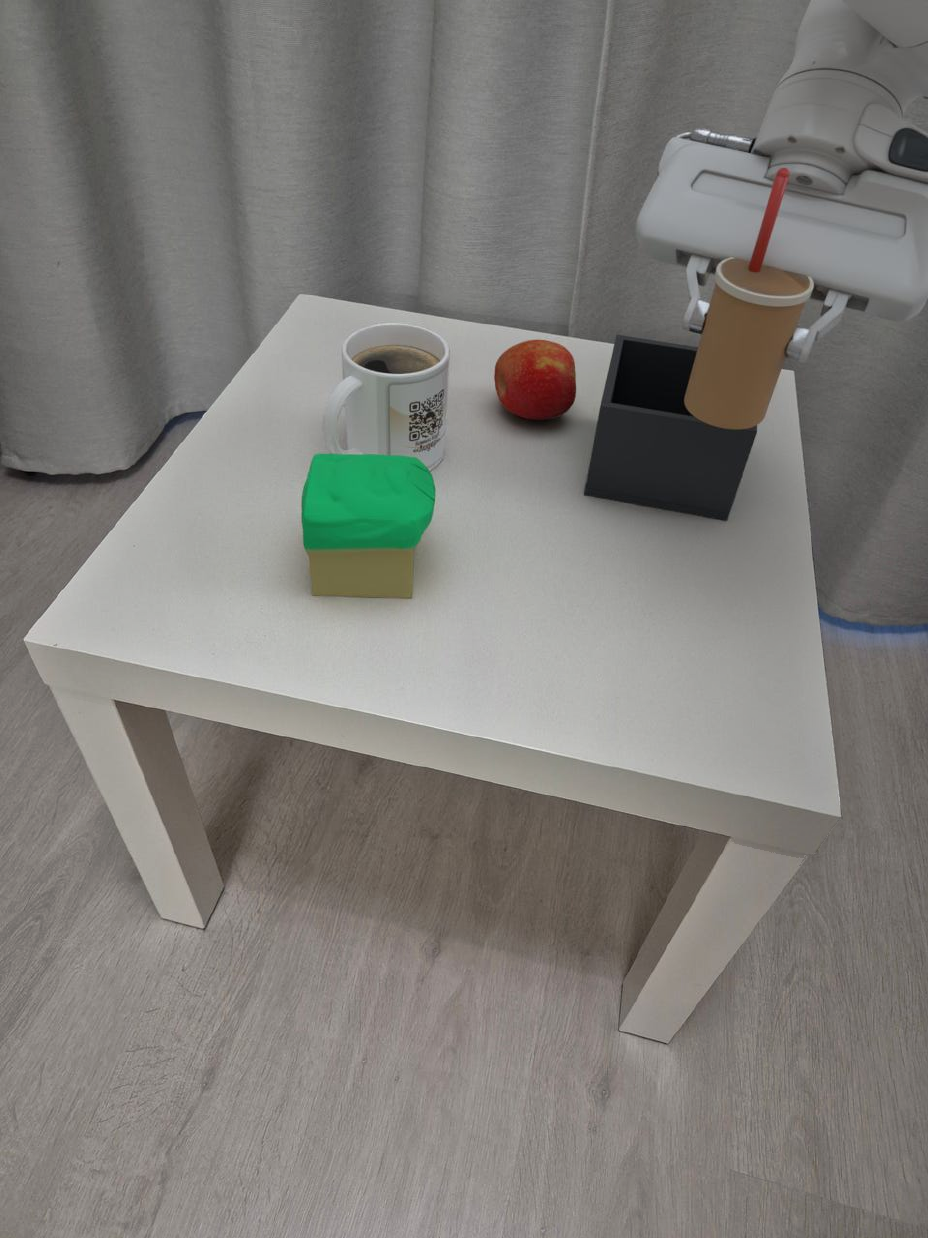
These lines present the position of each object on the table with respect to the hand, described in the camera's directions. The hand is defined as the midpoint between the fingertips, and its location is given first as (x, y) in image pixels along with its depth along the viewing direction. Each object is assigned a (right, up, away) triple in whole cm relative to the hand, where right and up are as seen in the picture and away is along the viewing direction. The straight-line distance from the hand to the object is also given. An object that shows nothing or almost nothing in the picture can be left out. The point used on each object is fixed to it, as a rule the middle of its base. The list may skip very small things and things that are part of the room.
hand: (743, 343), depth 61 cm
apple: (-12, +3, +32) cm, 35 cm away
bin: (0, -4, +27) cm, 27 cm away
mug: (-27, -3, +26) cm, 38 cm away
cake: (-27, -15, +15) cm, 34 cm away
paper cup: (0, -3, +4) cm, 5 cm away
